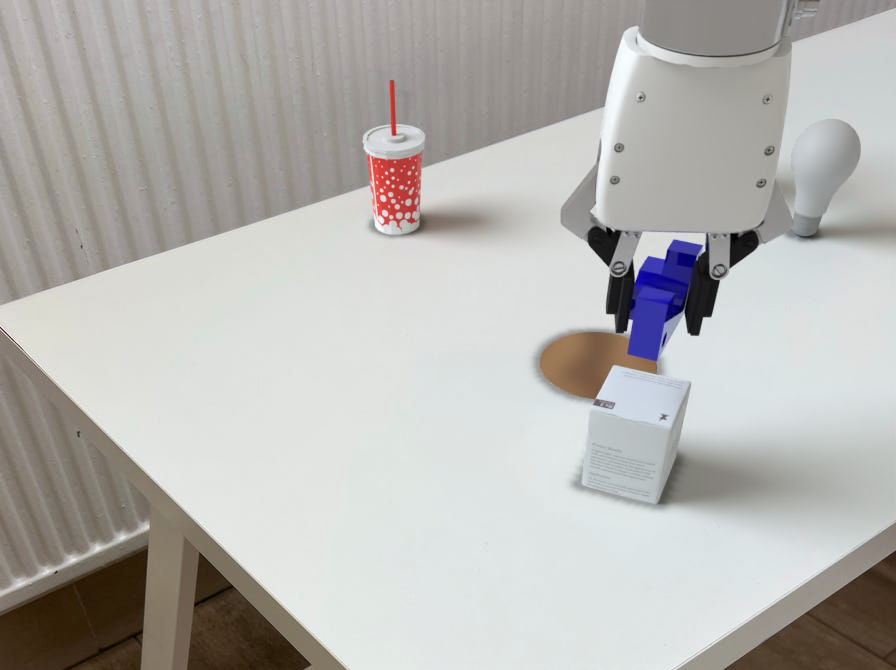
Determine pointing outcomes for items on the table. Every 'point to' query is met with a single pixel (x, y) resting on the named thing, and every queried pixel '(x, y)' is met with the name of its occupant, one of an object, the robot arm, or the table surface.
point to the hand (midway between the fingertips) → (655, 320)
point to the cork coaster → (588, 361)
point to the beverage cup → (395, 173)
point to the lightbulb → (821, 169)
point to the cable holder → (660, 298)
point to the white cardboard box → (634, 433)
